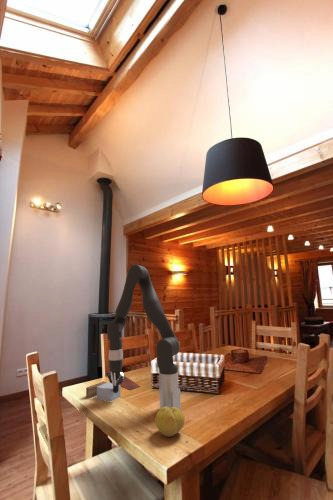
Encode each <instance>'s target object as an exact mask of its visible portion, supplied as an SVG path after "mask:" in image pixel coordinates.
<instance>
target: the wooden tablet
mask: <svg viewBox="0 0 333 500" xmlns="http://www.w3.org/2000/svg"><path fill="white" fill-rule="evenodd" d="M119 385H121V388H124V389H125V390H129V391H132V390H136V389H139V388H141V386H140V384H139V383H137V382H135V381H134V380H132V379H131V378H129V377H127V376H125V378H124V380H123V382H122V383H121V384H119Z"/></svg>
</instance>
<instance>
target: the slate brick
mask: <svg viewBox="0 0 333 500" xmlns="http://www.w3.org/2000/svg"><path fill="white" fill-rule="evenodd" d="M121 388H122V386H121V385H119V391H118V392H117V393H114V392H113V385H112V383H110V382H107V383H105V384H103V385H100V386H98V387H97V396H96V399H98V400H101V401H104V402H108V403H111V402H113V401H115V400H117V399H119V398H121V392H122V391H121Z"/></svg>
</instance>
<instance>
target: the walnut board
mask: <svg viewBox="0 0 333 500" xmlns="http://www.w3.org/2000/svg"><path fill="white" fill-rule="evenodd" d="M105 383H108V382H107V381H101V382H97V383H95V384H92V385H90V386H86V387H85V388H86V389H85V391H86V392H85V398H87V399H89V400H90V399H92V398H95V397H97V387H98V386H100V385H103V384H105Z"/></svg>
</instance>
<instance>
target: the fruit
mask: <svg viewBox="0 0 333 500" xmlns="http://www.w3.org/2000/svg"><path fill="white" fill-rule="evenodd" d="M154 417H155V419H154V423H155V426H156V428H157V429H158V431H159V432H160V434H162V435H163V436H164V437H166V438H167V437H173V436H175V435H176V434H178V433H179V432H180V431H181V430H182V429H183V428H184V426H185V415H184V413H183V412H182V409H181V410H179V409H178V408H177V407H171V408H168V407H166V406H165V407H162V408H161V409H160V408H159V410H158V411H157V413H156V415H155V416H154Z"/></svg>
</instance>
